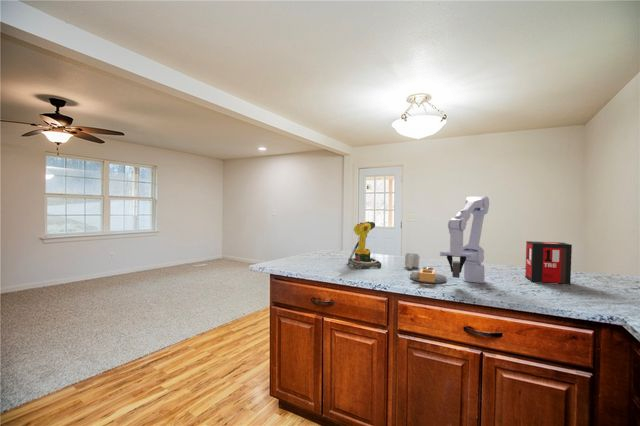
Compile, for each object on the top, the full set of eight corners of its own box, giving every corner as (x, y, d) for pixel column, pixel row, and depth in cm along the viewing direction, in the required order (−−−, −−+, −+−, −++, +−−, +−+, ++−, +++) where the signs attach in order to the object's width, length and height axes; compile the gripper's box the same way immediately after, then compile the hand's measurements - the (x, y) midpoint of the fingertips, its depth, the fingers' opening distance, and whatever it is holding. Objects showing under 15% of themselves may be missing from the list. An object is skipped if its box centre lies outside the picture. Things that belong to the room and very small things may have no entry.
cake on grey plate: (446, 276, 164) (446, 265, 163) (446, 285, 147) (446, 272, 147) (411, 273, 171) (412, 263, 170) (408, 281, 154) (408, 269, 154)
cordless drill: (384, 268, 185) (385, 223, 185) (354, 269, 182) (355, 223, 181) (373, 262, 204) (374, 221, 203) (346, 263, 200) (346, 221, 199)
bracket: (434, 277, 155) (435, 270, 155) (434, 282, 147) (434, 273, 147) (412, 275, 159) (412, 268, 159) (410, 279, 151) (411, 271, 151)
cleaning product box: (531, 282, 154) (532, 243, 153) (525, 278, 162) (526, 241, 162) (570, 285, 149) (571, 244, 148) (561, 280, 157) (563, 242, 157)
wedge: (459, 275, 146) (459, 261, 145) (459, 277, 142) (459, 263, 141) (452, 274, 147) (452, 260, 147) (452, 277, 143) (452, 262, 142)
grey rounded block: (402, 268, 181) (403, 251, 183) (405, 269, 190) (406, 253, 192) (415, 270, 178) (416, 253, 179) (418, 270, 187) (419, 254, 188)
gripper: (440, 243, 143) (439, 272, 143) (474, 245, 137) (473, 275, 138) (440, 242, 149) (439, 269, 150) (472, 243, 144) (472, 271, 144)
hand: (455, 271), depth 144 cm, fingers closed on wedge, 3 cm apart
